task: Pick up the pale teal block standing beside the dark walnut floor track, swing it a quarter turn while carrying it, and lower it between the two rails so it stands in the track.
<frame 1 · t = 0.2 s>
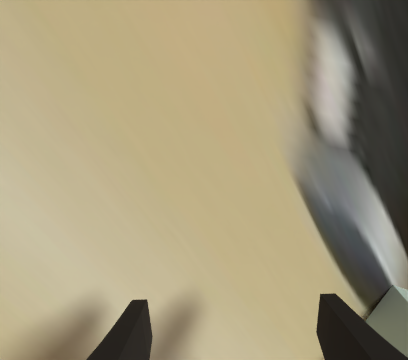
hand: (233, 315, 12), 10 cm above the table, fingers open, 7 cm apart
pale teal block: (375, 328, 26), on the table
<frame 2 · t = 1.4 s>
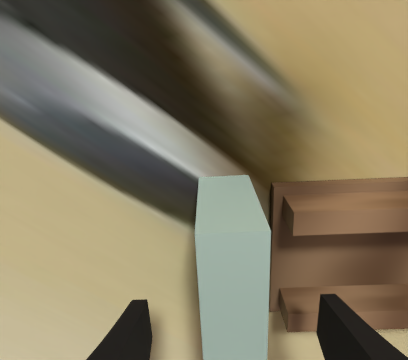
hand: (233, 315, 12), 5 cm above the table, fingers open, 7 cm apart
pale teal block: (225, 249, 17), on the table
floor track: (393, 243, 17), on the table
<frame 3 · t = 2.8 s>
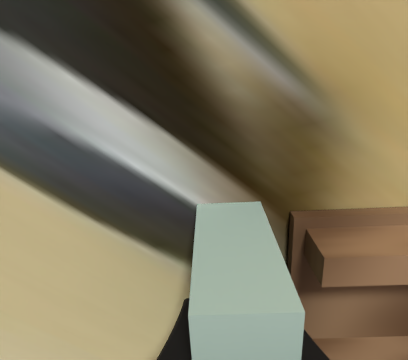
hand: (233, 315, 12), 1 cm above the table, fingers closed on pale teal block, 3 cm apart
pale teal block: (230, 291, 14), on the table, touching gripper
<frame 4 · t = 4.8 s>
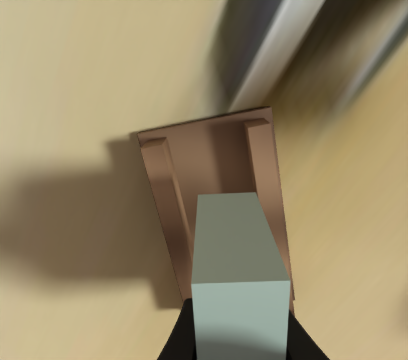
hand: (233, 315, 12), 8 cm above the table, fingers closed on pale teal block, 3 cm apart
pale teal block: (228, 276, 15), point 6 cm above the table, touching gripper
floor track: (223, 221, 20), on the table
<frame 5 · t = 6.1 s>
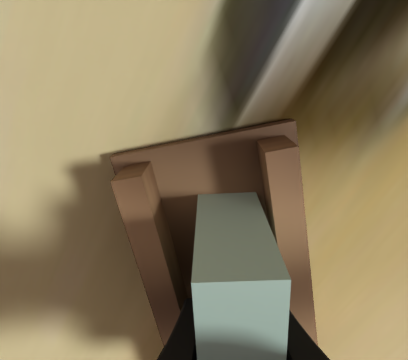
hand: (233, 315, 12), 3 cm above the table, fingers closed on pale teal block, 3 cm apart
pale teal block: (228, 276, 15), point 1 cm above the table, touching floor track, gripper
floor track: (227, 267, 15), on the table
when the fingers open (3 cm above the table, at t = 6.5 s): pale teal block stays where it is, resting on floor track.
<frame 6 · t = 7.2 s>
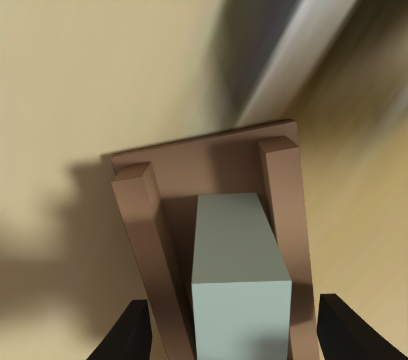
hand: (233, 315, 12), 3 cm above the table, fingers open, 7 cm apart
pale teal block: (229, 276, 15), point 1 cm above the table, touching floor track
floor track: (228, 268, 15), on the table
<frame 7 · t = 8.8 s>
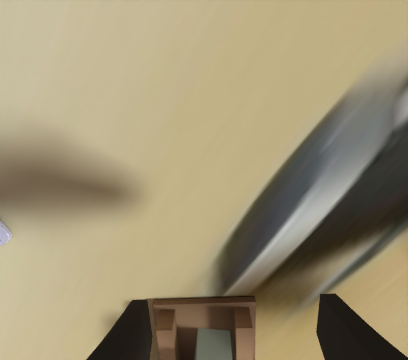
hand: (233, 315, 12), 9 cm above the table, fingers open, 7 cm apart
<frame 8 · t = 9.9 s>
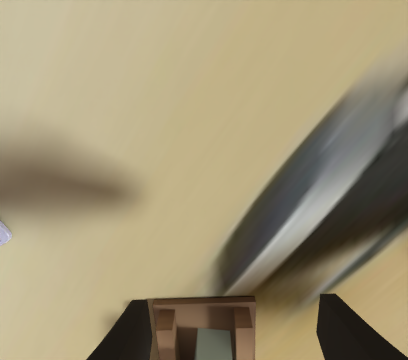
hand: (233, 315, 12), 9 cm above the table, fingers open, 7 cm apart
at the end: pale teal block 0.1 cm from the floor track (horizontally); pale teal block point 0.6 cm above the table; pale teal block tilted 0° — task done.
